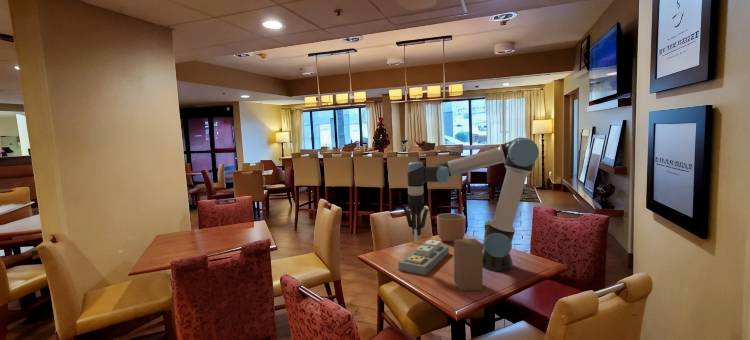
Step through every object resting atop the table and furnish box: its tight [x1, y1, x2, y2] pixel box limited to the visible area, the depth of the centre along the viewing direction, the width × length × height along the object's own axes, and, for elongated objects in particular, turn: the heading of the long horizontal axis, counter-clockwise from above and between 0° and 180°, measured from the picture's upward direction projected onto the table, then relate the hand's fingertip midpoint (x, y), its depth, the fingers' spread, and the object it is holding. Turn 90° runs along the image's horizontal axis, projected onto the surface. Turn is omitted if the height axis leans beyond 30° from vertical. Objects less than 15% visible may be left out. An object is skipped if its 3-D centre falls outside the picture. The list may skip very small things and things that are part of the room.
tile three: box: [407, 255, 426, 265], centre depth 178 cm, size 7×7×4 cm
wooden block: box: [453, 238, 484, 292], centre depth 156 cm, size 10×10×20 cm
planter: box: [436, 212, 467, 244], centre depth 221 cm, size 17×17×15 cm
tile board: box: [398, 243, 449, 276], centre depth 188 cm, size 14×34×4 cm, turn 150°
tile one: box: [423, 239, 442, 251], centre depth 197 cm, size 7×7×4 cm
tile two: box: [415, 244, 434, 257], centre depth 187 cm, size 7×7×4 cm
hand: (416, 241), depth 177 cm, fingers closed
